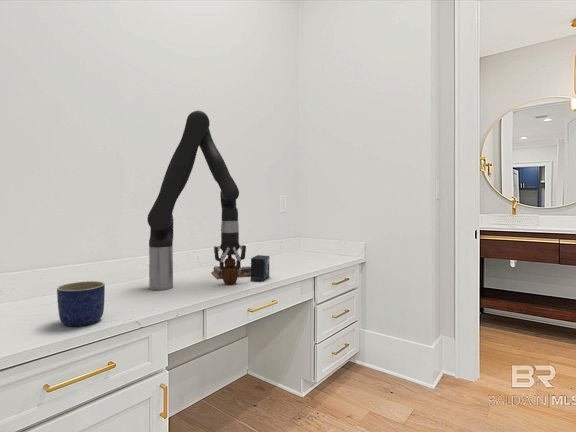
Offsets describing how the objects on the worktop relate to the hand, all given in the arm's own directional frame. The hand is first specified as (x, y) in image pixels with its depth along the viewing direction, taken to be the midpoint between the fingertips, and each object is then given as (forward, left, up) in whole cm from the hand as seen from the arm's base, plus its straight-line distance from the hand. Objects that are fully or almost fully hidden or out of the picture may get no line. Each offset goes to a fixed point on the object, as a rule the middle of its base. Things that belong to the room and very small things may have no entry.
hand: (230, 269), depth 162 cm
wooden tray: (+7, +19, -6) cm, 21 cm away
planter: (-53, -33, -6) cm, 63 cm away
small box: (+15, +4, -6) cm, 17 cm away
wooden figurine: (0, 0, -6) cm, 6 cm away
